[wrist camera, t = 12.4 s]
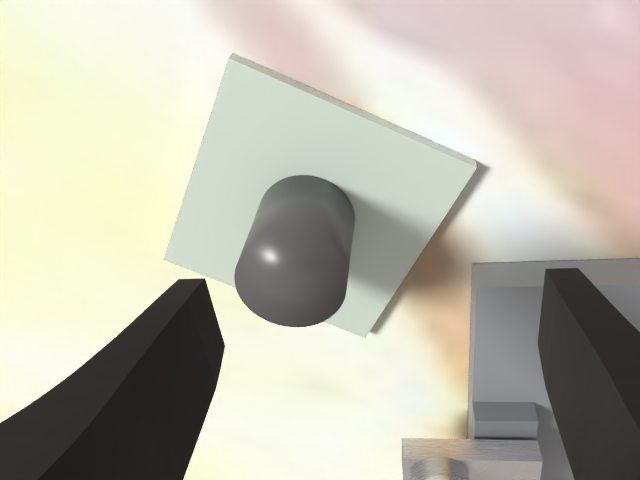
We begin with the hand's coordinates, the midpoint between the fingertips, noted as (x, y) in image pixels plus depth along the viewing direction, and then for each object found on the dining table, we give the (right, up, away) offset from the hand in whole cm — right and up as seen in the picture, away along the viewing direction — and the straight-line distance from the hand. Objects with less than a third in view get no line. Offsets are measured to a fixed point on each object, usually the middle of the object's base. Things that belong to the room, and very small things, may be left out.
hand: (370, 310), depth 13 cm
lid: (-1, +3, +10) cm, 11 cm away
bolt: (+5, -8, +12) cm, 15 cm away
